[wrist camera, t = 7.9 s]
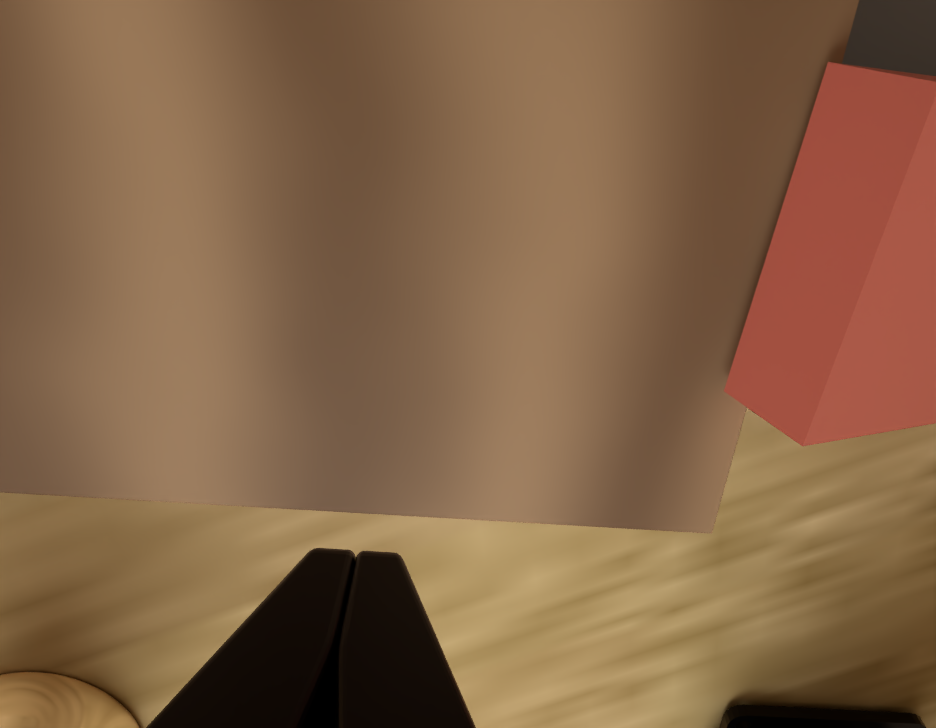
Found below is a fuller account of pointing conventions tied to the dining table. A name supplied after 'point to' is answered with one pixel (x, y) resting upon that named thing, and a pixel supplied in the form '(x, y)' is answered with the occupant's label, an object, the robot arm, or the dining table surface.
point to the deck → (392, 248)
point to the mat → (894, 36)
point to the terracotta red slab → (850, 269)
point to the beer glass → (57, 703)
